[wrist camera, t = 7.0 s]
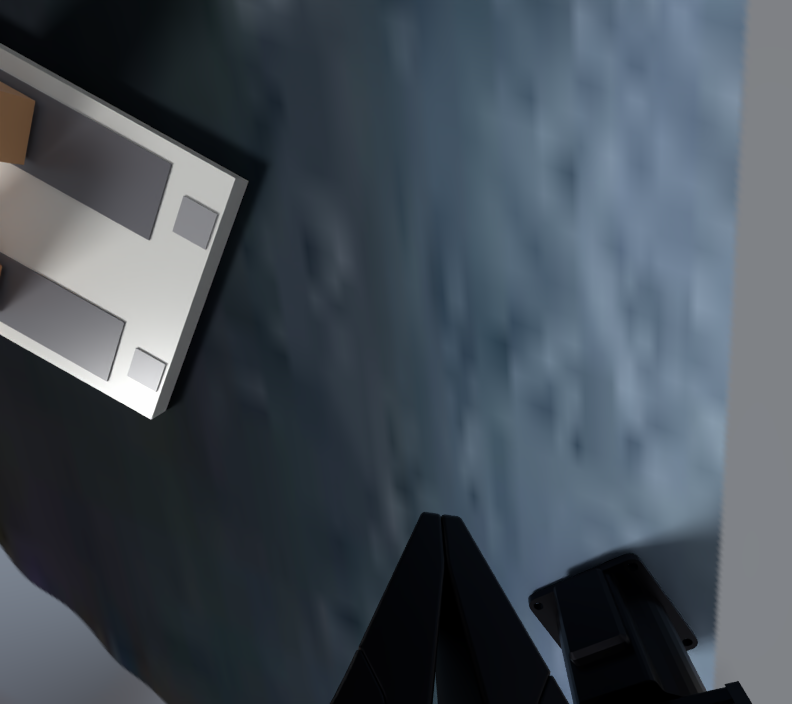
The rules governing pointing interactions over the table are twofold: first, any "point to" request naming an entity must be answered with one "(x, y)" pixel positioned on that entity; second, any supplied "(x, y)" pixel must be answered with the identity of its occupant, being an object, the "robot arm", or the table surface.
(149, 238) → the switch bank
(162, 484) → the table surface
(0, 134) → the tab
